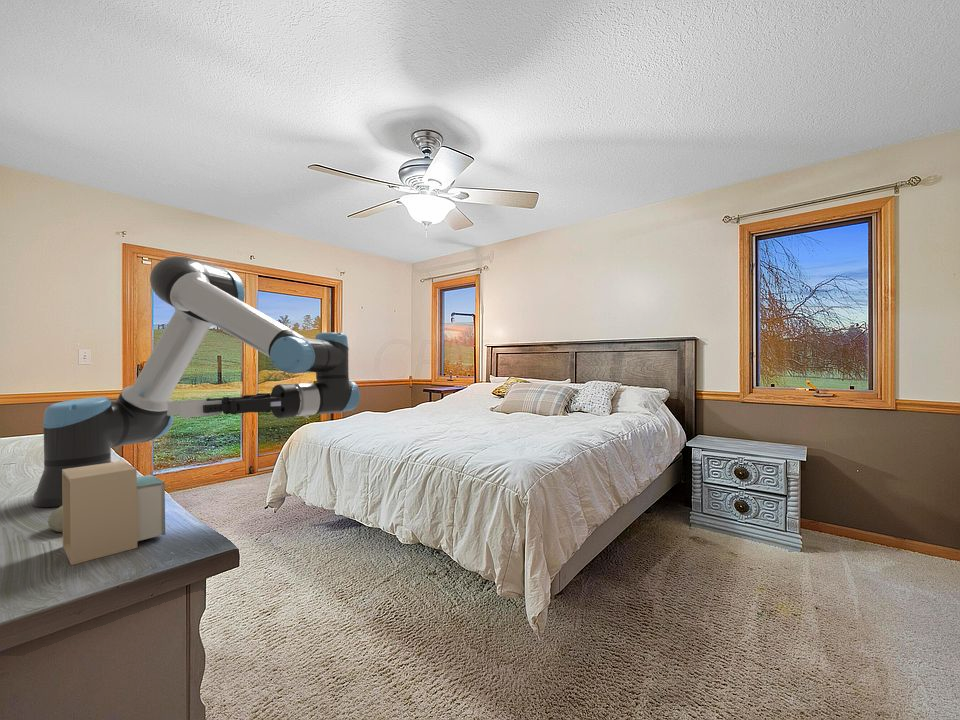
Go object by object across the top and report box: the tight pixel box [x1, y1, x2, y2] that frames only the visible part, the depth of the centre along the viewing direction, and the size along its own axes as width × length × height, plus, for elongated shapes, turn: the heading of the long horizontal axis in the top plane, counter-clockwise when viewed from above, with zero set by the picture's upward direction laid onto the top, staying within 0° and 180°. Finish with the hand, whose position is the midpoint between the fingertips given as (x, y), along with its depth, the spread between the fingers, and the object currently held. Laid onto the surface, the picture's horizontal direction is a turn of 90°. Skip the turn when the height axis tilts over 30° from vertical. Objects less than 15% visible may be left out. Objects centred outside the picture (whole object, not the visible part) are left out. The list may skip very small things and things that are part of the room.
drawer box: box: [137, 474, 166, 542], centre depth 74 cm, size 10×9×9 cm
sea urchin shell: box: [47, 506, 63, 533], centre depth 83 cm, size 9×8×8 cm
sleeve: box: [62, 460, 138, 566], centre depth 72 cm, size 8×11×13 cm
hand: (174, 409), depth 81 cm, fingers open, 8 cm apart
